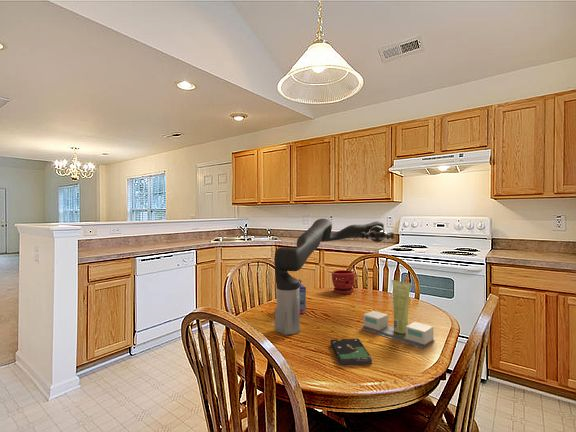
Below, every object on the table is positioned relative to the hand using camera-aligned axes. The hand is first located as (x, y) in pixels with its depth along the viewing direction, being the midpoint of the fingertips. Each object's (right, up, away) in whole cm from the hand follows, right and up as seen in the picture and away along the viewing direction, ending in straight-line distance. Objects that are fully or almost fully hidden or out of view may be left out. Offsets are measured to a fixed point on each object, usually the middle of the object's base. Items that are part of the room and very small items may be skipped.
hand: (377, 236), depth 139 cm
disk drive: (-19, -38, -34) cm, 54 cm away
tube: (+4, -36, -18) cm, 40 cm away
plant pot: (-7, -35, +44) cm, 57 cm away
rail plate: (+2, -36, -18) cm, 41 cm away
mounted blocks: (+2, -35, -18) cm, 40 cm away
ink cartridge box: (-35, -36, +12) cm, 52 cm away
